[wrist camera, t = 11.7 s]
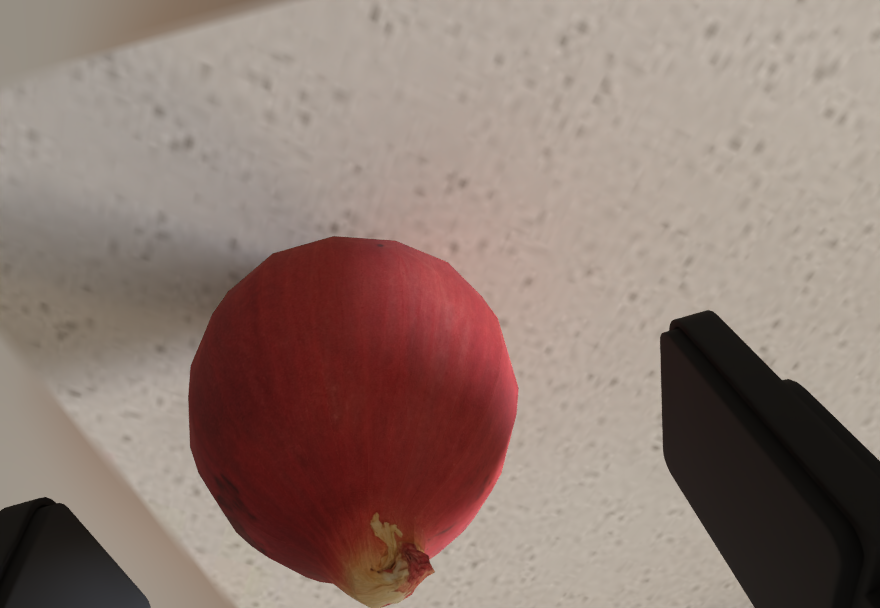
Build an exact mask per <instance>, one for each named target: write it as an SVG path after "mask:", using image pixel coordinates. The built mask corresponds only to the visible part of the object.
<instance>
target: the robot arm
mask: <svg viewBox="0 0 880 608" xmlns="http://www.w3.org/2000/svg"><path fill="white" fill-rule="evenodd" d="M660 351H661V389H662V427H663V453H664V458H665V461H666V464H667V467H668V469H669V471H670V473H671V475H672V476H673V478H674V480H675V481H676V483H677V484H678V486H679V488H680V489H681V491H682V492H683V494H684V496H685V497H686V499H687V500H688V502H689V503H690V505H691V507H692V508H693V510H694V511H695V513H696V515H697V516H698V518H699V519H700V521H701V523H702V524H703V526H704V527H705V529H706V531H707V532H708V534H709V535H710V537H711V539H712V540H713V542H714V543H715V545H716V547H717V548H718V550H719V551H720V553H721V555H722V556H723V558H724V559H725V561H726V562H727V564H728V566H729V567H730V569H731V570H732V572H733V574H734V575H735V577H736V578H737V580H738V582H739V583H740V585H741V586H742V588H743V590H744V591H745V593H746V594H747V596H748V598H749V599H750V601H751V602H752V604H753V606H754V607H755V608H880V461H879V460H878V459H877V458H876V457H875V456H874V455H873V454H872V453H871V452H870V451H869V450H868V449H867V448H866V447H865V446H864V445H863V444H862V443H861V442H859V441H858V440H857V439H856V438H855V437H854V436H853V435H852V434H851V433H850V432H849V431H848V430H847V429H846V428H845V427H844V426H843V425H842V424H841V423H840V422H839V421H838V420H837V419H836V418H835V417H834V416H833V415H832V414H831V413H830V412H829V411H828V410H827V409H826V408H825V407H824V406H823V405H822V404H821V403H819V402H818V401H817V400H816V399H815V398H814V397H813V396H812V395H811V394H810V393H809V392H808V391H807V390H806V389H805V388H804V387H802V386H801V385H800V384H798V383H797V382H795V381H792V380H789V379H787V380H781V379H780V378H779V377H778V376H777V375H776V374H775V373H774V372H773V371H772V370H771V369H770V368H769V367H768V366H767V365H766V364H765V363H764V362H763V361H762V360H761V359H760V358H759V357H758V356H757V355H756V354H755V353H754V352H753V351H752V350H751V348H750V347H749V346H748V345H747V344H746V343H745V342H744V341H743V340H742V339H741V338H740V337H739V336H738V335H737V334H736V333H735V332H734V331H733V330H732V329H731V328H730V327H729V326H728V325H727V324H726V323H725V322H724V321H723V320H722V319H721V318H720V317H719V316H718V315H717V314H715V313H714V312H713V311H709V310H707V311H703V312H700V313H696V314H693V315H689V316H686V317H682V318H679V319H675V320H673V321H671V324H670V329H669V331H668V332H664V333H662V334H661V337H660ZM0 608H150V604H149V601H148V599H147V598H146V596H145V595H144V594H143V593H142V592H141V591H140V590H139V588H137V586H136V585H135V584H134V583H133V582H132V580H131V579H130V578H129V577H128V576H127V575H126V574H125V573H124V571H123V570H122V569H121V568H120V567H119V566H118V564H117V563H116V562H115V561H114V560H113V559H112V558H111V556H110V555H109V554H108V553H107V552H106V551H105V550H104V549H103V547H102V546H101V545H100V544H99V543H98V542H97V540H96V539H95V538H94V537H93V536H92V535H91V534H90V532H89V531H88V530H87V529H86V528H85V527H84V526H83V524H82V523H81V522H80V521H79V520H78V519H77V517H76V516H75V515H74V514H73V513H72V512H71V511H70V509H69V508H68V507H66V506H65V505H64V504H61V503H55V502H54V501H53V500H51V499H49V498H46V497H44V498H38V499H35V500H32V501H28V502H24V503H21V504H17V505H13V506H10V507H6V508H4V509H2V510H1V511H0Z"/></svg>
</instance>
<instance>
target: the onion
mask: <svg viewBox="0 0 880 608" xmlns="http://www.w3.org/2000/svg"><path fill="white" fill-rule="evenodd" d="M517 399H518V385H517V382H516V378H515V375H514V372H513V368H512V365H511V361H510V358H509V355H508V351H507V348H506V345H505V341H504V338H503V335H502V331H501V328H500V325H499V321H498V318H497V317H496V315H495V314H494V313H493V311H492V310H491V309H490V307H489V306H488V304H487V303H486V302H485V300H484V299H483V297H482V296H481V295H480V294H479V293H478V292H477V291H476V290H475V289H474V288H473V287H472V286H471V285H470V284H469V283H468V282H467V281H466V280H465V279H464V278H463V277H462V276H461V275H460V274H459V273H458V272H457V271H456V270H455V269H454V268H453V267H452V266H451V265H450V264H449V263H448V262H445V261H443V260H440V259H438V258H436V257H433V256H431V255H428V254H426V253H424V252H421V251H419V250H416V249H414V248H412V247H409V246H407V245H404V244H402V243H399V242H397V241H390V240H376V239H363V238H349V237H335V236H333V237H329V238H326V239H322V240H319V241H315V242H312V243H308V244H305V245H301V246H298V247H294V248H291V249H287V250H284V251H280V252H277V253H273V254H272V255H271V256H269V257H268V258H267V259H266V260H265V261H264V262H262V263H261V264H260V265H259V266H258V267H256V268H255V269H254V270H253V271H252V272H251V273H249V274H248V275H247V276H246V277H245V278H243V279H242V280H241V281H240V282H239V283H238V284H236V285H235V286H234V287H233V288H232V289H231V290H229V291H228V292H227V294H226V295H225V297H224V298H223V300H222V301H221V302H220V304H219V305H218V307H217V308H216V309H215V311H214V312H213V314H212V316H211V318H210V321H209V323H208V326H207V328H206V331H205V333H204V335H203V338H202V340H201V343H200V345H199V347H198V350H197V352H196V355H195V357H194V359H193V362H192V364H191V370H190V382H189V395H188V401H189V428H190V448H191V451H192V454H193V457H194V460H195V463H196V466H197V469H198V472H199V474H200V476H201V478H202V479H203V481H204V482H205V484H206V486H207V487H208V489H209V491H210V492H211V494H212V495H213V497H214V499H215V500H216V502H217V503H218V505H219V506H220V508H221V510H222V511H223V513H224V514H225V516H226V517H227V519H228V520H229V522H230V523H231V525H232V526H233V528H234V529H235V531H236V532H237V533H238V534H239V535H240V536H241V537H242V538H243V539H244V540H245V541H247V542H248V543H249V544H250V545H251V546H252V547H254V548H255V549H257V550H258V551H260V552H261V553H263V554H264V555H265V556H267V557H268V558H270V559H272V560H274V561H276V562H278V563H280V564H282V565H284V566H286V567H288V568H290V569H292V570H293V571H295V572H297V573H299V574H301V575H303V576H305V577H307V578H310V579H313V580H316V581H319V582H325V583H333V584H334V585H336V586H337V587H338V588H340V589H341V590H342V591H343V592H345V593H346V594H347V595H349V596H351V597H352V598H354V599H356V600H357V601H359V602H360V603H362V604H364V605H366V606H368V607H370V608H381V607H384V606H387V605H390V604H396V603H399V602H401V601H402V600H404V599H405V598H407V597H408V596H410V595H412V593H413V592H414V590H415V588H416V587H417V586H418V585H419V584H420V583H421V582H422V581H423V580H424V579H425V578H426V577H427V576H429V575H431V574H433V573H434V572H435V571H434V569H433V568H432V566H431V564H430V562H429V559H431V558H432V557H434V556H435V555H437V554H438V553H439V552H440V551H441V550H443V549H444V548H445V547H446V546H447V545H448V544H449V543H451V542H452V541H453V540H454V539H455V538H456V537H457V536H459V535H460V534H461V533H462V532H463V531H464V530H465V529H466V527H467V526H468V525H469V524H470V523H471V521H472V520H473V519H474V517H475V516H476V514H477V512H478V511H479V509H480V508H481V506H482V505H483V503H484V502H485V500H486V499H487V497H488V496H489V494H490V492H491V491H492V489H493V487H494V485H495V484H496V482H497V480H498V478H499V476H500V474H501V472H502V468H503V464H504V460H505V456H506V453H507V449H508V445H509V441H510V437H511V433H512V429H513V425H514V421H515V418H516V412H517Z"/></svg>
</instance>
